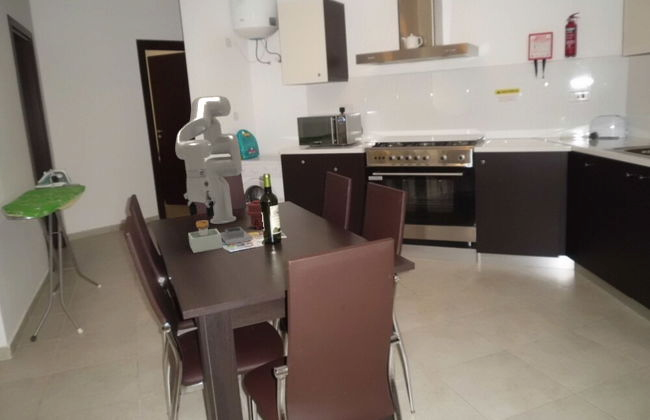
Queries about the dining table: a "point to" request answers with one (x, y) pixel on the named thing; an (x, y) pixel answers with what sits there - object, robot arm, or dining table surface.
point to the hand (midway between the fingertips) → (202, 215)
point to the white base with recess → (234, 235)
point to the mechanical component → (255, 214)
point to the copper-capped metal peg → (203, 227)
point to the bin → (205, 241)
